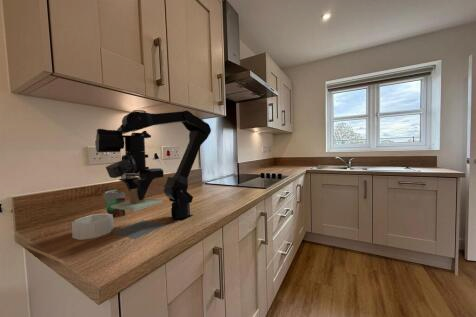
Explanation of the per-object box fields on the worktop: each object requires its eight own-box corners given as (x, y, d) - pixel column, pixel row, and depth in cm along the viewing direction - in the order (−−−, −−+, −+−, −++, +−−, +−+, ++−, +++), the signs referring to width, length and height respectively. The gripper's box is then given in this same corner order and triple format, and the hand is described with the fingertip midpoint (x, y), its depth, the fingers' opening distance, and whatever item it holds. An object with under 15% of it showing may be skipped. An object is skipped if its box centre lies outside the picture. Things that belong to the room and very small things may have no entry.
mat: (143, 221, 73) (143, 220, 73) (167, 225, 68) (167, 224, 68) (110, 233, 63) (110, 232, 63) (135, 240, 57) (135, 238, 57)
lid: (141, 199, 72) (140, 185, 72) (163, 202, 67) (162, 187, 67) (110, 207, 62) (109, 191, 62) (133, 211, 58) (132, 193, 57)
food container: (101, 215, 84) (99, 191, 83) (118, 211, 88) (116, 189, 88) (108, 221, 75) (106, 195, 75) (126, 217, 79) (124, 192, 79)
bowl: (101, 226, 70) (100, 212, 70) (119, 230, 65) (118, 215, 65) (67, 237, 61) (66, 221, 61) (85, 243, 57) (84, 225, 56)
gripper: (91, 153, 61) (94, 203, 62) (131, 151, 53) (133, 209, 54) (126, 152, 71) (128, 195, 72) (163, 150, 63) (165, 199, 63)
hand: (137, 199), depth 65 cm, fingers closed on lid, 3 cm apart
